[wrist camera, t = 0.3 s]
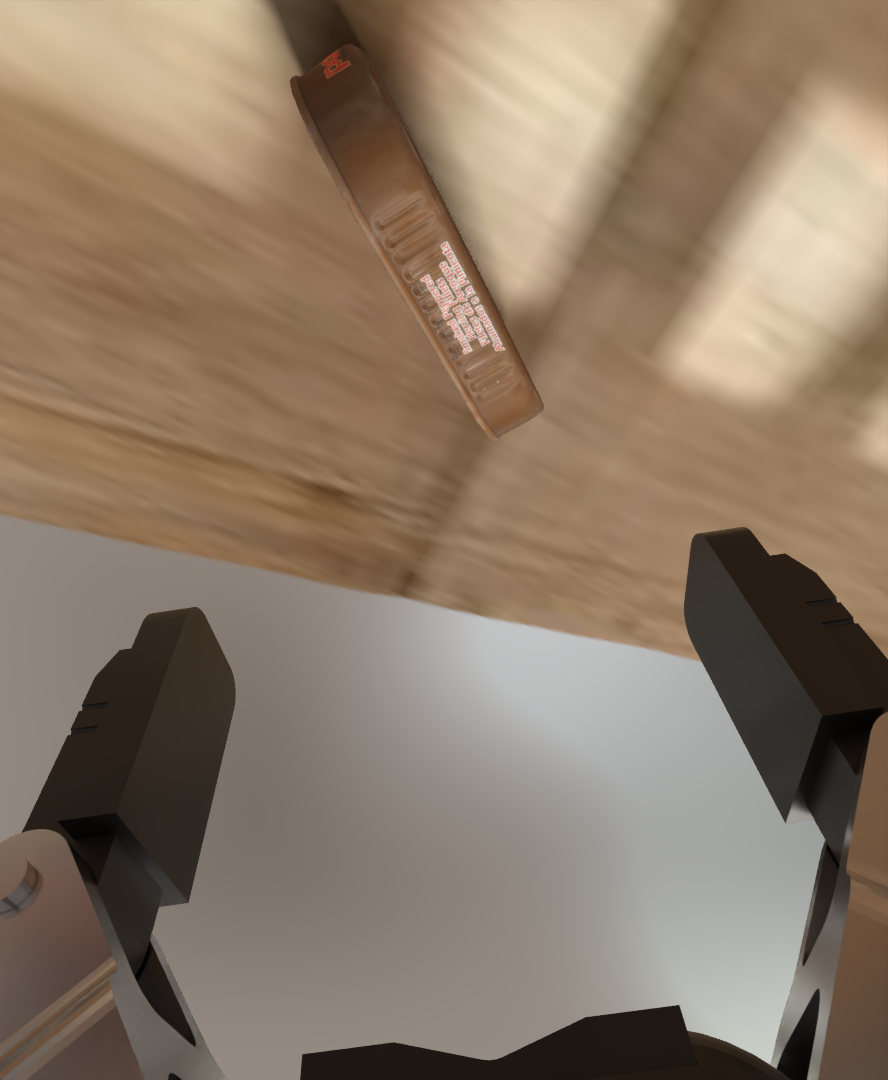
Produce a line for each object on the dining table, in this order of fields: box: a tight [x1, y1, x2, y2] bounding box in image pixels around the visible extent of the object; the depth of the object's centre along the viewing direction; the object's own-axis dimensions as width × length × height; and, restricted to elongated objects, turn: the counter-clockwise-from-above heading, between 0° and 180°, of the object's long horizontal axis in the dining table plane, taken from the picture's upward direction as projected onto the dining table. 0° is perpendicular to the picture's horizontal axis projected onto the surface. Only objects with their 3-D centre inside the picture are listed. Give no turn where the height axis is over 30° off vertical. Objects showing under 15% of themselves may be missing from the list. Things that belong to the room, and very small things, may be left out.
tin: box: [290, 44, 544, 441], centre depth 25 cm, size 15×3×8 cm, turn 28°
